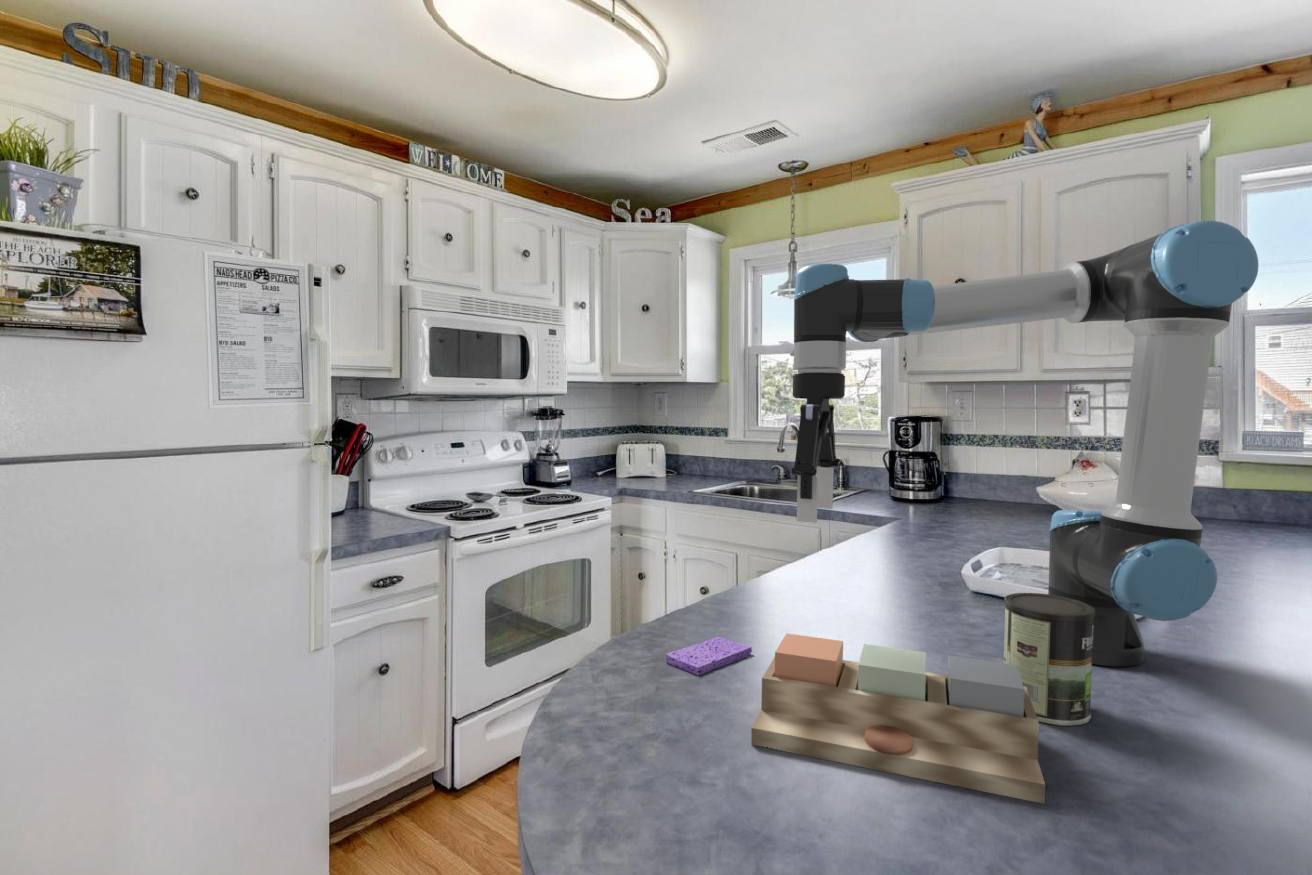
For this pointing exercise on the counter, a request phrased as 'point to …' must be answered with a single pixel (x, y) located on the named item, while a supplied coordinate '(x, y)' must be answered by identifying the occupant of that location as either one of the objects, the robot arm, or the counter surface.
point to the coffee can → (1052, 654)
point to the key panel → (903, 733)
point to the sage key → (892, 672)
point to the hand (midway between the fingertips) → (815, 514)
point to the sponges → (708, 655)
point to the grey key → (985, 686)
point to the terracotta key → (809, 659)
